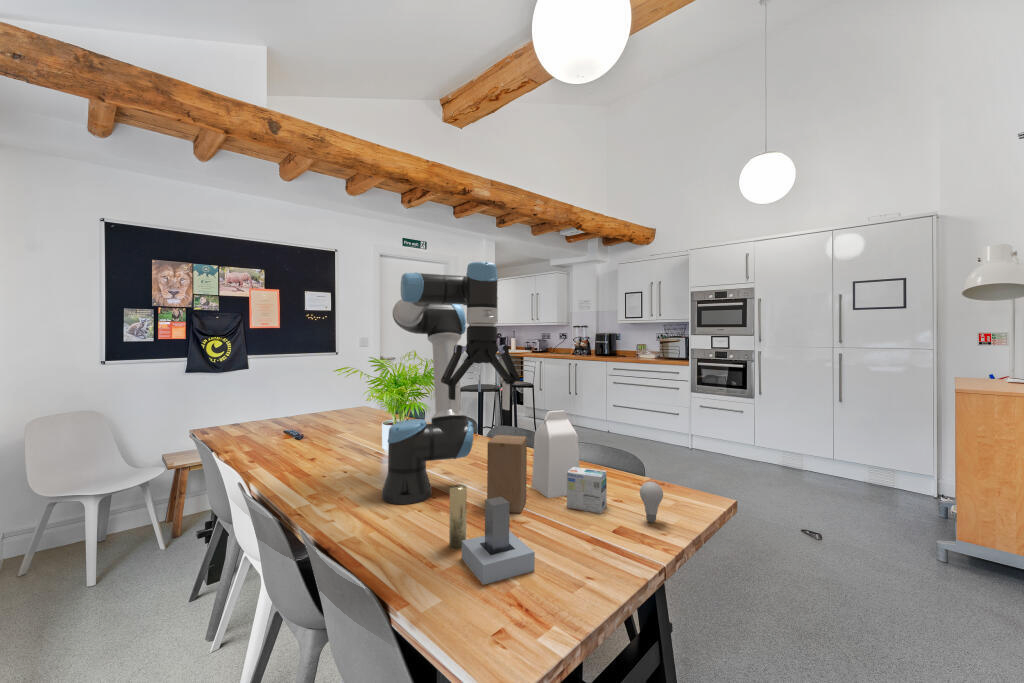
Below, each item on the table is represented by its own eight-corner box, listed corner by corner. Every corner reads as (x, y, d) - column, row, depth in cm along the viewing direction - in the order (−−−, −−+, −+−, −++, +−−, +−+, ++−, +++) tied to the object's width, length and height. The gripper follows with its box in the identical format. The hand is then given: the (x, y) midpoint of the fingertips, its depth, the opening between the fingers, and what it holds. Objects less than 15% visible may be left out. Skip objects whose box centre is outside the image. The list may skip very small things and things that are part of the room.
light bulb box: (607, 506, 130) (607, 470, 130) (601, 514, 124) (602, 476, 124) (572, 500, 135) (572, 465, 135) (565, 508, 128) (566, 471, 128)
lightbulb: (651, 528, 114) (651, 487, 114) (634, 520, 120) (634, 480, 120) (667, 524, 117) (668, 483, 117) (651, 516, 123) (651, 477, 123)
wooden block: (520, 514, 124) (521, 443, 124) (486, 510, 126) (487, 441, 126) (526, 501, 134) (527, 436, 133) (494, 498, 136) (495, 434, 135)
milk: (548, 498, 136) (548, 415, 136) (531, 486, 147) (532, 409, 147) (580, 493, 141) (581, 412, 141) (562, 482, 152) (563, 407, 152)
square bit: (492, 570, 93) (492, 505, 93) (484, 562, 97) (485, 499, 97) (508, 566, 95) (509, 502, 95) (500, 558, 99) (501, 496, 99)
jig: (483, 584, 88) (483, 565, 88) (461, 558, 98) (461, 540, 98) (534, 570, 93) (534, 552, 93) (508, 546, 104) (508, 530, 104)
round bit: (445, 546, 104) (446, 487, 104) (457, 540, 107) (458, 483, 107) (457, 551, 102) (458, 491, 102) (469, 544, 105) (470, 486, 105)
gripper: (438, 323, 99) (437, 417, 99) (533, 326, 110) (532, 409, 110) (428, 324, 105) (427, 412, 105) (518, 326, 117) (518, 405, 117)
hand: (481, 411), depth 108 cm, fingers open, 13 cm apart
